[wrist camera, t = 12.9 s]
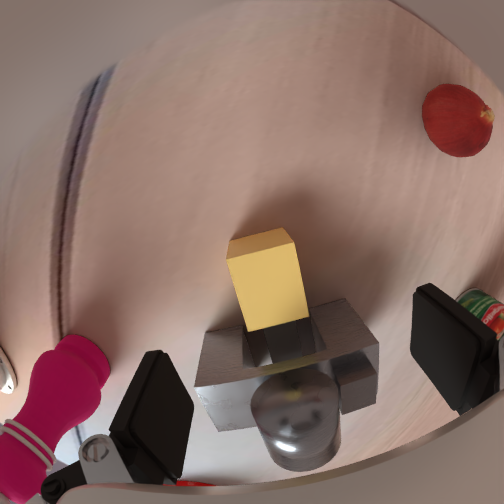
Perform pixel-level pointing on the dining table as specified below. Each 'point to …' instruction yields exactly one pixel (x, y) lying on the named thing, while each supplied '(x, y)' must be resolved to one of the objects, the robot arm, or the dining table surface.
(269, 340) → the yellow tipped gray bar
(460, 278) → the dining table surface
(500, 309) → the canned tomato
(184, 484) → the kitchen timer
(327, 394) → the block
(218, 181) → the dining table surface
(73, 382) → the pepper mill
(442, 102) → the red rounded piece
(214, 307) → the dining table surface
